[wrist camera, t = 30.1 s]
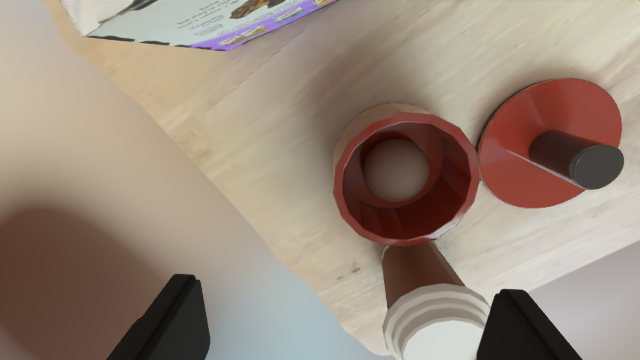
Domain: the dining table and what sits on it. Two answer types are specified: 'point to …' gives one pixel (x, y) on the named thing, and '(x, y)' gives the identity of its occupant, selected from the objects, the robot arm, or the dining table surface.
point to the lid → (551, 144)
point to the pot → (434, 199)
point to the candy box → (186, 20)
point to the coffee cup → (429, 306)
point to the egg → (396, 170)
